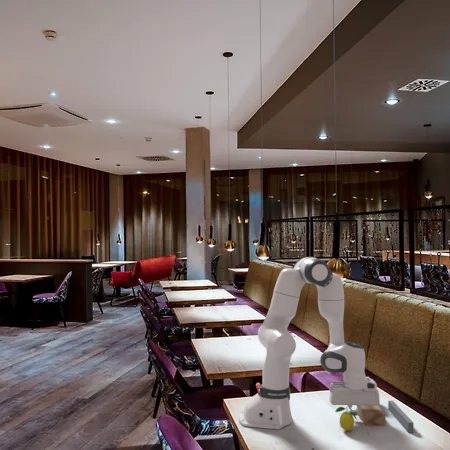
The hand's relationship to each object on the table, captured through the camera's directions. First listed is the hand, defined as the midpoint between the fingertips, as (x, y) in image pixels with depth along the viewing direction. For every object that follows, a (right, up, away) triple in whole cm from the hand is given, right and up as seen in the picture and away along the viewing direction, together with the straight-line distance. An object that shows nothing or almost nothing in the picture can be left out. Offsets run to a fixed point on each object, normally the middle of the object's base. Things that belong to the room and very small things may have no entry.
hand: (354, 415), depth 185 cm
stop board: (+19, -2, 0) cm, 19 cm away
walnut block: (+7, -2, 0) cm, 8 cm away
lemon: (-6, -2, -10) cm, 12 cm away
